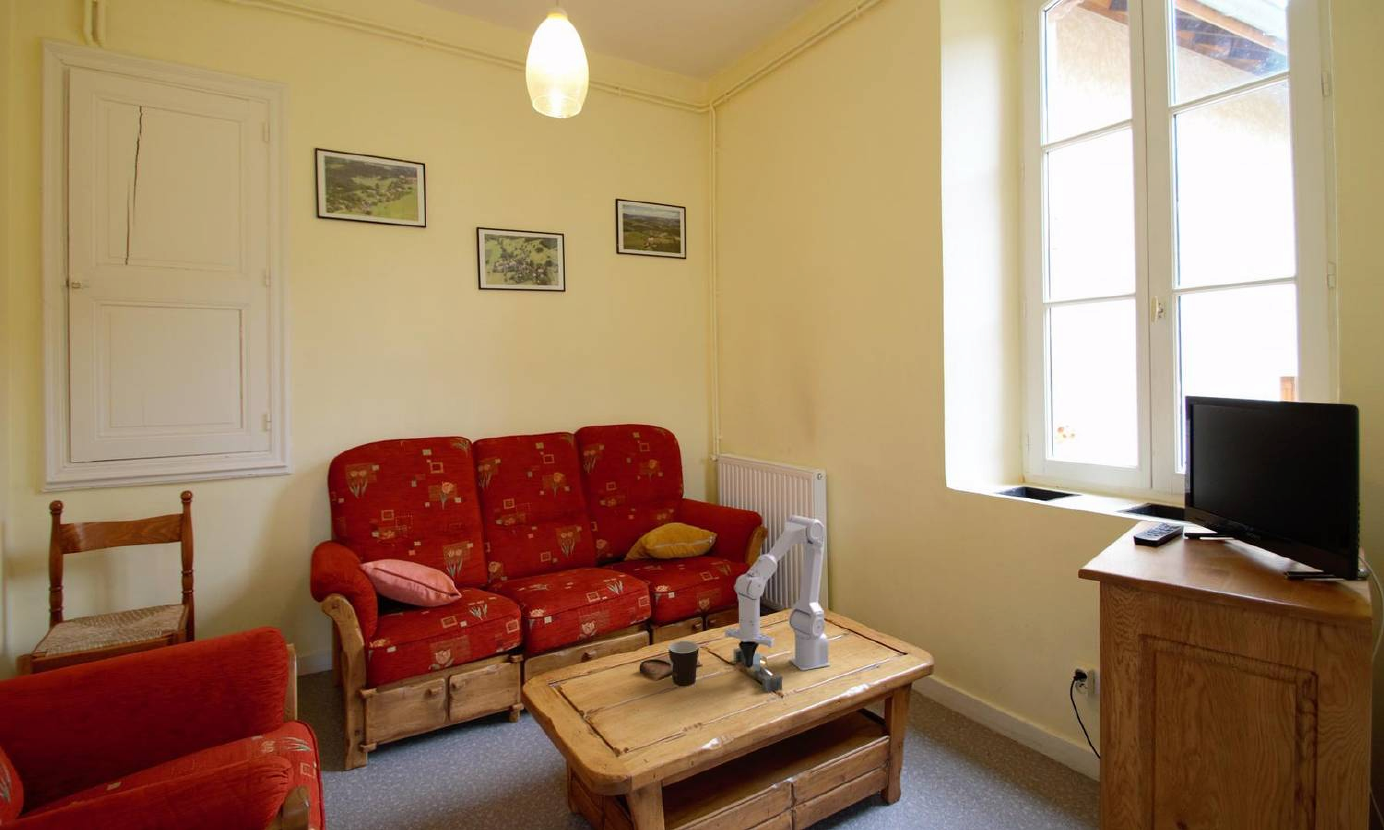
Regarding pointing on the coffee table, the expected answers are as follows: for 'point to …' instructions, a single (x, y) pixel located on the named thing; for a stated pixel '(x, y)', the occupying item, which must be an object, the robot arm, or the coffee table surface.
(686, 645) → the coffee mug
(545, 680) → the coffee table surface
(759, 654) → the lever
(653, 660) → the sunglasses case
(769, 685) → the valve body
